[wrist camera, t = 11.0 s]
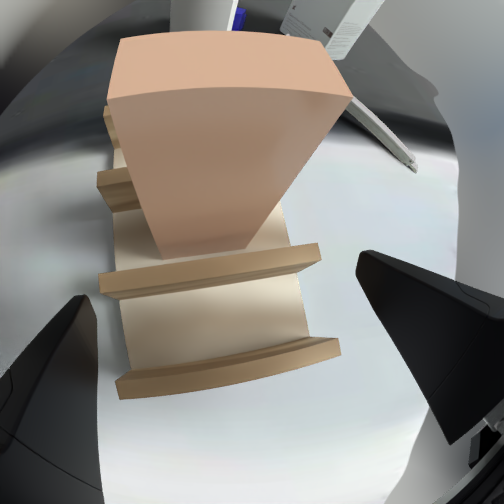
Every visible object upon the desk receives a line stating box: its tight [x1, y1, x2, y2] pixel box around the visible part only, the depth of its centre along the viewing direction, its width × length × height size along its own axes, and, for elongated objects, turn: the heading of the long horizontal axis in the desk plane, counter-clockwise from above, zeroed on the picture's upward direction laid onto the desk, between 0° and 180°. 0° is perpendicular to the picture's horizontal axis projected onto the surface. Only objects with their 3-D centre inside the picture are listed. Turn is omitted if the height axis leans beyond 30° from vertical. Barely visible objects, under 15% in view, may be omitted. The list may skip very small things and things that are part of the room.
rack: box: [97, 106, 341, 400], centre depth 17 cm, size 18×12×5 cm, turn 11°
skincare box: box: [280, 0, 385, 60], centre depth 22 cm, size 8×6×15 cm
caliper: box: [286, 33, 418, 173], centre depth 23 cm, size 20×1×6 cm, turn 62°
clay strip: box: [107, 31, 353, 260], centre depth 12 cm, size 2×6×14 cm, turn 101°
